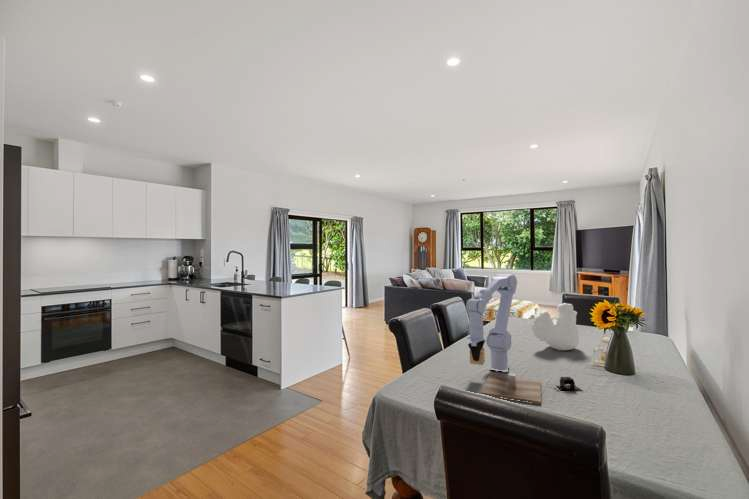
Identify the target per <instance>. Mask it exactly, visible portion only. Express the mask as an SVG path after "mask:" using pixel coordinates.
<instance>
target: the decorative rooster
mask: <svg viewBox="0 0 749 499" xmlns="http://www.w3.org/2000/svg"><path fill="white" fill-rule="evenodd" d="M556 310H557V315H552V316H551V315H550V313H549V312H548V311H547V310H541V311H539V312H538V314H537V315H536V316H534V319H533V320H532V321H533V323H532V324H531V325H530V327H531V331H532V333H533V334H532V335H533V336H534V338H536V339H537V340H539V341H540V342H545V343H546V344H547V345H548V346H549V347H550V348H552V349H553V348H554V349H553V350H556V349H557V351H561V350H562V351H570V350H573V349H575V348H577V347H578V345H579V343H580V336H579V330H578V327H577V325H576V324H577V315H578V312H577V311H576V310H574V305H573V304H572V303H567V302H563V303H561V304H558V305H557V306H556ZM554 319H555V321H553V320H554Z"/></svg>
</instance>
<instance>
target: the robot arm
mask: <svg viewBox="0 0 749 499" xmlns="http://www.w3.org/2000/svg"><path fill="white" fill-rule="evenodd" d="M490 280H491V281H490V283H488V285H487V287H486V288H481V289H480V291H479V292H478V293H477V294H476V295H475V296H474V297H472V298H470V299H468V300H467V301H466V303H465V304H466V305H465V309H466V312H467V316H468V319H469V322H468V324H469V335H467V336H466V338H467V339H469V340H470V342H469V343H468V344H467V346H468V348H469V351H470V350H471V353H472V357H473V360H474V361H479V357H480V351H481V348H484V344H486V346H487V347H488V349H489V350H490V367H492V368H494V369H498V370H505V369H507V368H508V365H509V364H508V363H509V362H508V352H509V351H510V349H511V347H512V335H511V333H510V332H509V331H508V330H507V329H508V324H509V319H510V313H511V307H512V302H513V297H514V294H516V290H517V286H518V280H517V277H516V275H515V274H499V273H494V274H493V275H492V276H491V279H490ZM495 292H497V293H498V294H500V298H499V304H498V309H497V314H496V319H495V325H494V327H492V328H491V329H490V330H488V334H487V336H486V339H485V336H484V334H485V333H484V312H485V310H486V308H487V304H488V303H489V302H491V300H492V299H493V294H494V293H495Z"/></svg>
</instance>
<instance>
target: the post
mask: <svg viewBox="0 0 749 499" xmlns="http://www.w3.org/2000/svg"><path fill="white" fill-rule="evenodd" d="M507 377H508V386H509V388H516V378H517V374H516V373H513V372H512V373H511V372H508V373H507Z"/></svg>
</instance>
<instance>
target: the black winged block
mask: <svg viewBox="0 0 749 499" xmlns="http://www.w3.org/2000/svg"><path fill="white" fill-rule="evenodd" d="M574 380H575V379H573V378H572V377H571V376H560V378H559V385H555V386H556V387H557V388H558V389H559V390H560V391H570V392H571V393H572V392H584V390H583V389H581V388H580V387H579V386H577V385H575V384H576V383H575V381H574ZM576 386H577V387H576ZM578 387H579V388H578Z"/></svg>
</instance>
